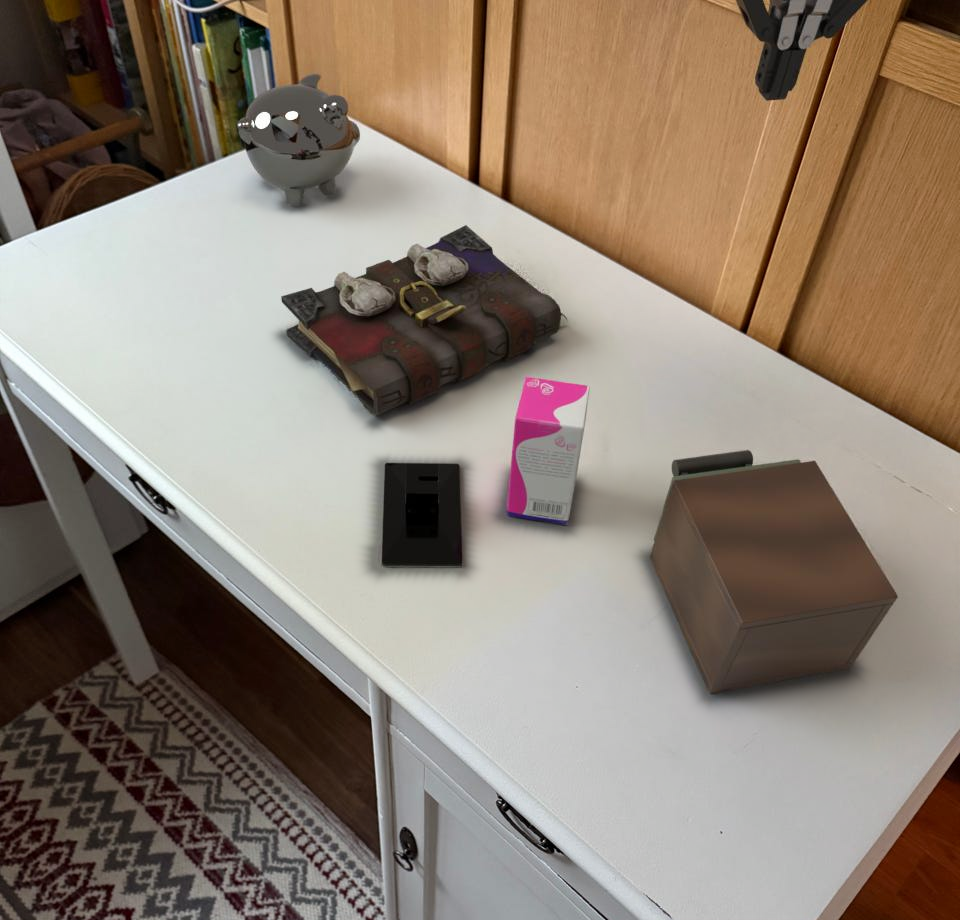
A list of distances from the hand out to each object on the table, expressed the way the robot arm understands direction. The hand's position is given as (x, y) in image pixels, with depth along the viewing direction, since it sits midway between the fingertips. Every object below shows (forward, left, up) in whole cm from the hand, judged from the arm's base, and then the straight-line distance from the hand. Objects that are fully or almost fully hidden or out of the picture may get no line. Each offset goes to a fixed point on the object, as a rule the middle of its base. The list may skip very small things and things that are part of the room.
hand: (771, 95), depth 73 cm
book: (+25, -13, -29) cm, 41 cm away
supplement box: (+19, +12, -29) cm, 37 cm away
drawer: (+5, +24, -28) cm, 37 cm away
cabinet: (+5, +28, -29) cm, 41 cm away
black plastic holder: (+30, +12, -29) cm, 44 cm away
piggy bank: (+34, -44, -29) cm, 63 cm away
